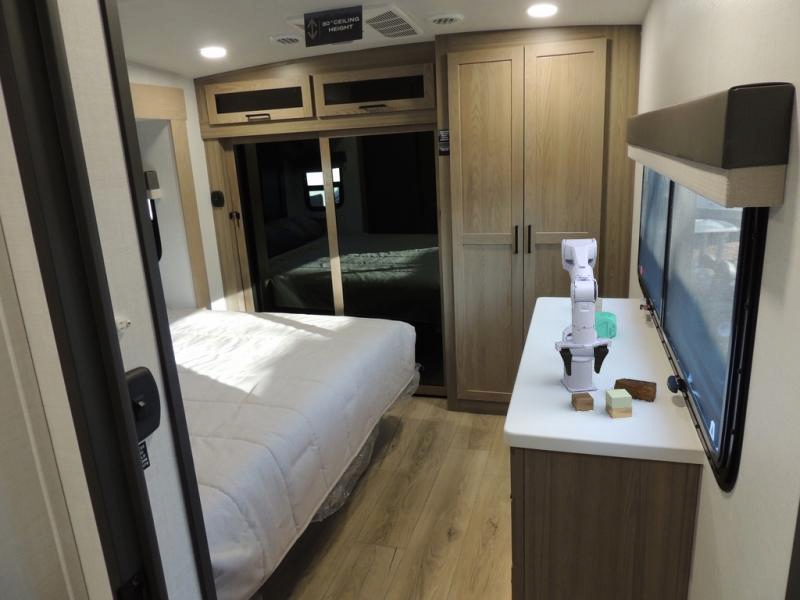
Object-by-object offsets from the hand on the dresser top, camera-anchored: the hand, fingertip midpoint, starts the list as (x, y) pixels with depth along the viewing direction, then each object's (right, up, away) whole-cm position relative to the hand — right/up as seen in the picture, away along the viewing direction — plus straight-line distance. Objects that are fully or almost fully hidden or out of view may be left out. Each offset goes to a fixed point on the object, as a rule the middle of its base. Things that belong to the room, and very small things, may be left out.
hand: (582, 373), depth 157 cm
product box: (+30, +13, +84) cm, 90 cm away
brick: (+17, -8, +7) cm, 20 cm away
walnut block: (+1, -10, +2) cm, 10 cm away
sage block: (+8, -8, -3) cm, 12 cm away
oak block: (+9, -10, -2) cm, 14 cm away
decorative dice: (+26, +6, +58) cm, 64 cm away
